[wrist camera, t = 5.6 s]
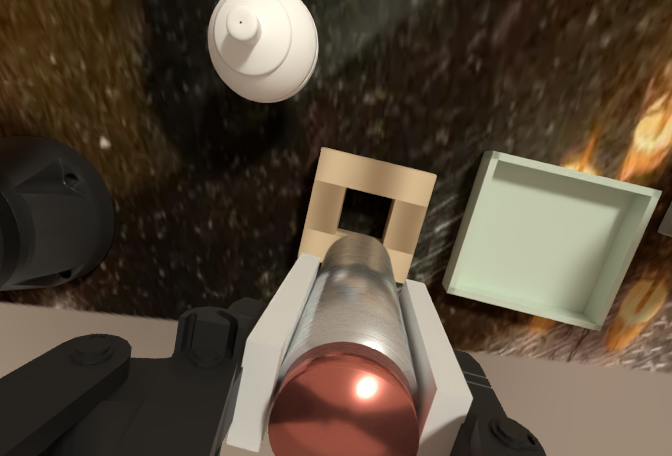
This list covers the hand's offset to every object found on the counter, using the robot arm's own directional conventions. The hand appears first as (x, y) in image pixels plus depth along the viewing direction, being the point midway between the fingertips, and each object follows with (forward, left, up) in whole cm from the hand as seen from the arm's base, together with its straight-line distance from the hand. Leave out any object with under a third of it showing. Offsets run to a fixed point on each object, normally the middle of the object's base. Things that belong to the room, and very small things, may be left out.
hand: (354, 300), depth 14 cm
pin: (0, 0, -4) cm, 4 cm away
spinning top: (-10, +11, -21) cm, 26 cm away
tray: (+16, +1, -21) cm, 27 cm away
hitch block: (0, 0, -21) cm, 21 cm away
